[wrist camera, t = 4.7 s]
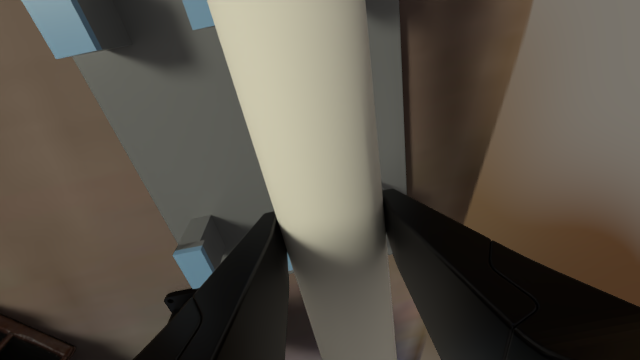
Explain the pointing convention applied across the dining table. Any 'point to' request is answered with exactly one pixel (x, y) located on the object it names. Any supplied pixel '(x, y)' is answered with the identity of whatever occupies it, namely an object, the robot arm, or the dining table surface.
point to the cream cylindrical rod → (318, 158)
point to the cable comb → (199, 111)
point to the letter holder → (30, 343)
